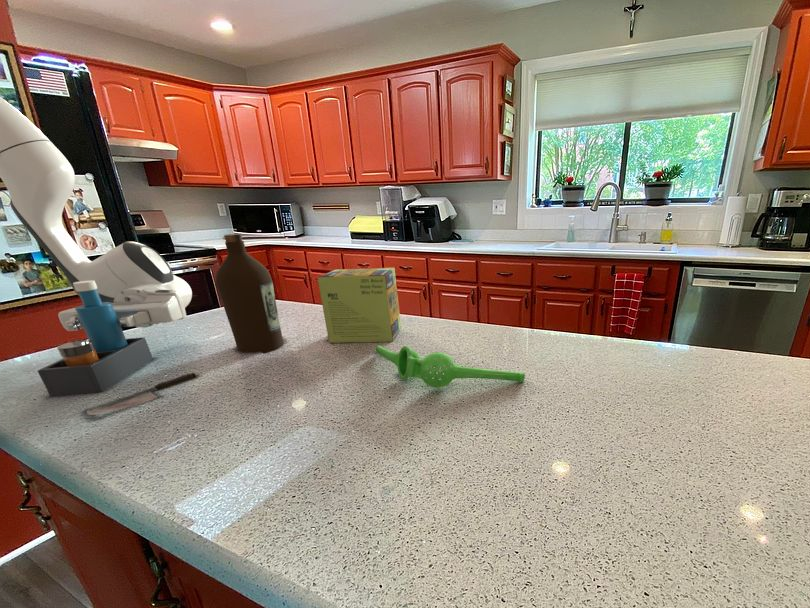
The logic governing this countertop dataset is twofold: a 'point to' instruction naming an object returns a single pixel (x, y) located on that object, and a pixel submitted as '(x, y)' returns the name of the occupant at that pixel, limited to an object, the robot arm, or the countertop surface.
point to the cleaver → (140, 396)
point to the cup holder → (96, 370)
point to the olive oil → (248, 299)
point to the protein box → (360, 305)
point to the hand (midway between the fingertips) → (97, 324)
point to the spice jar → (78, 353)
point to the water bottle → (99, 319)
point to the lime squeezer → (421, 368)
